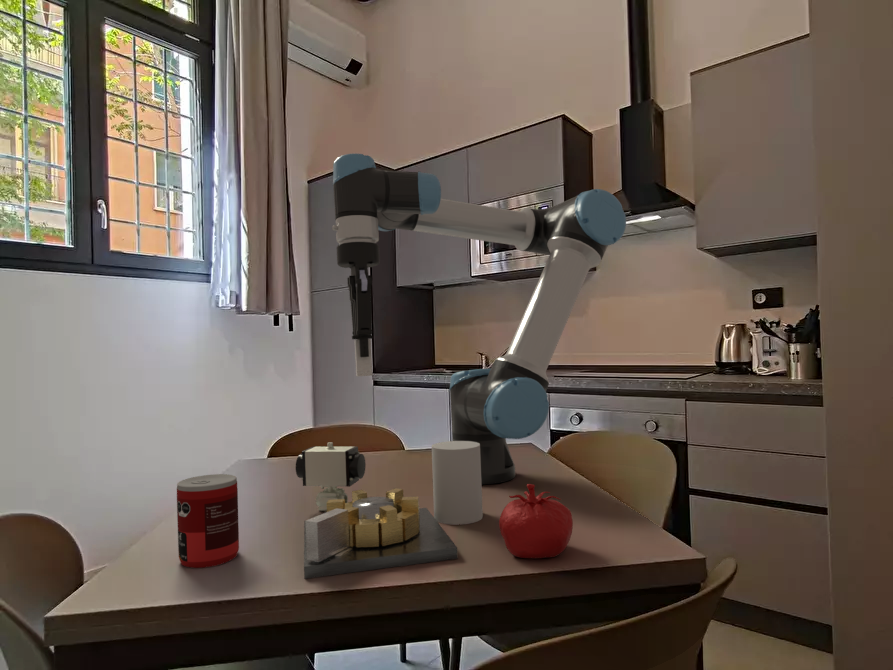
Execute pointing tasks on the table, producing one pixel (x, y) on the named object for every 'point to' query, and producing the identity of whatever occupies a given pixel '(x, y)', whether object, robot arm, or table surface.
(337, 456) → the pneumatic valve
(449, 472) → the white cylinder
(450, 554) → the base plate
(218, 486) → the canned food
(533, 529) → the red tomato
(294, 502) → the table surface
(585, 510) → the table surface
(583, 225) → the robot arm
